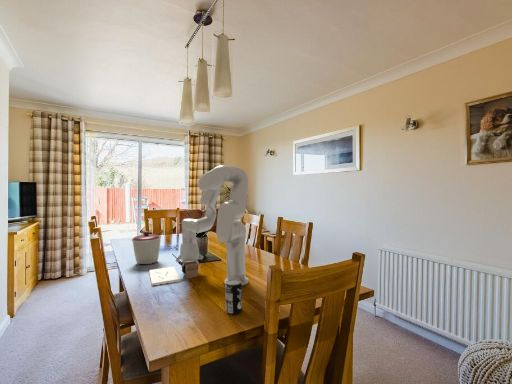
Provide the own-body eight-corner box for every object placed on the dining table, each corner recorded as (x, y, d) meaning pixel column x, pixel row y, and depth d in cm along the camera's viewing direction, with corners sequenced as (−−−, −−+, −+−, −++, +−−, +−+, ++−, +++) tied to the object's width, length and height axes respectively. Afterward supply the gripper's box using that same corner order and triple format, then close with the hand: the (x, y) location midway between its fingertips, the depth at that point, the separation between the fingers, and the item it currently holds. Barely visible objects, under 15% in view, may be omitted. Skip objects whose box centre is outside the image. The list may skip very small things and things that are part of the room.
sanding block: (198, 276, 152) (197, 263, 152) (187, 278, 149) (186, 265, 149) (193, 271, 161) (192, 259, 161) (183, 273, 158) (182, 261, 158)
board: (180, 281, 144) (180, 278, 144) (151, 286, 138) (151, 283, 138) (174, 269, 166) (173, 266, 166) (149, 272, 160) (149, 270, 160)
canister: (150, 257, 193) (148, 228, 193) (167, 260, 184) (166, 229, 183) (126, 264, 178) (125, 232, 177) (144, 268, 169) (143, 234, 168)
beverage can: (242, 307, 112) (241, 278, 112) (242, 315, 105) (241, 284, 105) (226, 308, 112) (225, 279, 111) (225, 315, 105) (224, 285, 105)
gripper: (202, 237, 161) (203, 267, 162) (172, 240, 154) (173, 272, 155) (205, 240, 155) (206, 271, 155) (174, 243, 147) (175, 276, 148)
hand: (190, 271), depth 155 cm, fingers closed on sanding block, 6 cm apart
